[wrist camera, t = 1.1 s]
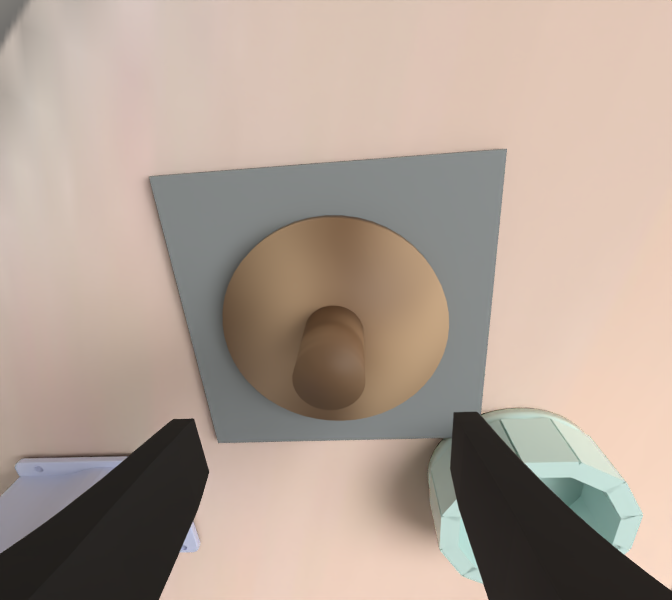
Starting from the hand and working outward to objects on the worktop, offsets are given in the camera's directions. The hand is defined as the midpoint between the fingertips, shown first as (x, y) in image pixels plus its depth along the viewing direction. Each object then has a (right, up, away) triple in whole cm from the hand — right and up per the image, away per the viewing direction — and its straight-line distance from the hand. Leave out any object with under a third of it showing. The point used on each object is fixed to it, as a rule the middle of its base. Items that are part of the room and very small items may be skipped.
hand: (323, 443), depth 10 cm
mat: (0, +3, +7) cm, 8 cm away
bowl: (+10, -6, +10) cm, 16 cm away
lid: (0, +3, +7) cm, 7 cm away
